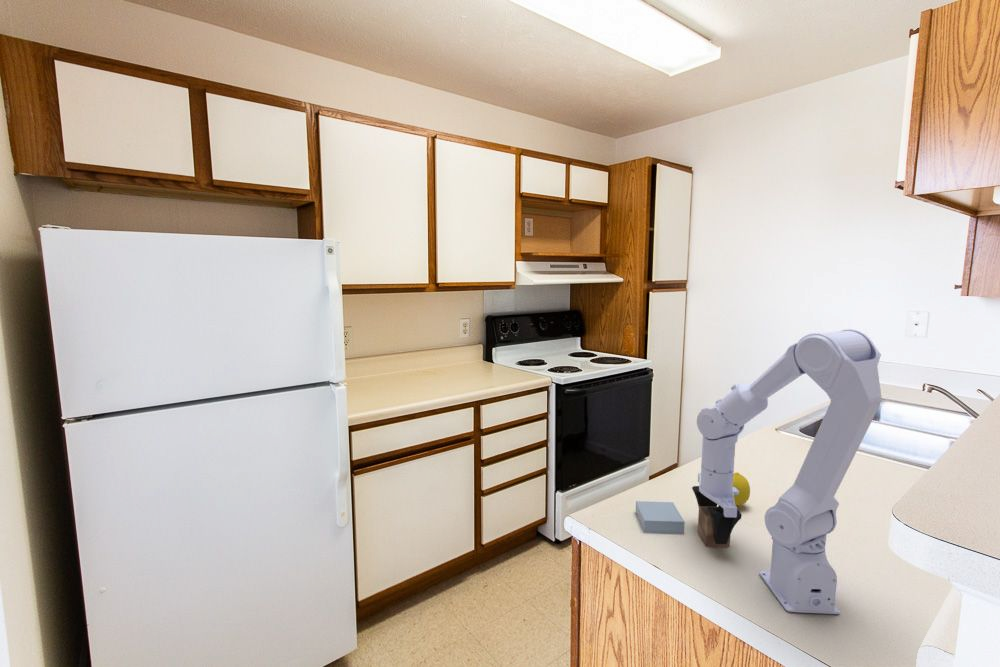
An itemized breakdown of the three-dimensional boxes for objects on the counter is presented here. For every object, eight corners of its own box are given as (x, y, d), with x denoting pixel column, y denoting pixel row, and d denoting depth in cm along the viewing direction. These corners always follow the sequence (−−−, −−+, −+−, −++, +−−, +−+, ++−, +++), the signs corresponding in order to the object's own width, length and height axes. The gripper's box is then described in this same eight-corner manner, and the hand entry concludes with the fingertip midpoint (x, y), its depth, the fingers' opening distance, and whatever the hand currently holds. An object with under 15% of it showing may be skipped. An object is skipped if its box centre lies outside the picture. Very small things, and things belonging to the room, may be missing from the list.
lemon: (752, 513, 101) (754, 479, 100) (725, 511, 103) (727, 477, 101) (744, 501, 107) (746, 468, 106) (718, 499, 108) (720, 466, 107)
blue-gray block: (684, 535, 94) (684, 521, 94) (644, 534, 95) (644, 520, 94) (672, 515, 102) (673, 502, 102) (635, 513, 103) (635, 501, 102)
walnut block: (729, 547, 89) (731, 518, 88) (705, 546, 90) (707, 517, 89) (720, 534, 94) (721, 506, 93) (697, 533, 94) (698, 506, 93)
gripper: (756, 485, 82) (751, 555, 84) (723, 453, 96) (720, 514, 98) (715, 483, 83) (711, 554, 84) (688, 452, 97) (685, 513, 99)
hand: (713, 532), depth 91 cm, fingers open, 6 cm apart
